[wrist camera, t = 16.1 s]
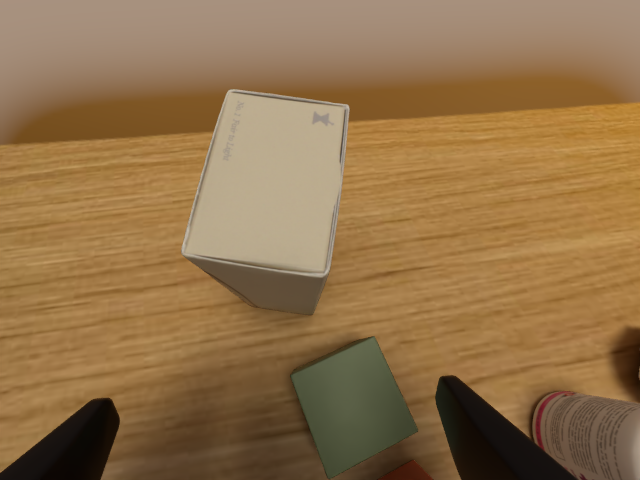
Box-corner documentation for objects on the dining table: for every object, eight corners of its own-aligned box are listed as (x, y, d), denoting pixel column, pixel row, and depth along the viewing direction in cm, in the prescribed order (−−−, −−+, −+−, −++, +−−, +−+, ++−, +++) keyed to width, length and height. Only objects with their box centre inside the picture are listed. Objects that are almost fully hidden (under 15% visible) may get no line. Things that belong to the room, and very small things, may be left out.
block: (393, 412, 18) (419, 431, 14) (323, 449, 17) (328, 480, 13) (359, 339, 19) (374, 335, 15) (293, 369, 19) (289, 375, 14)
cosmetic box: (267, 221, 22) (224, 80, 11) (328, 230, 22) (353, 98, 10) (248, 310, 20) (169, 254, 8) (316, 320, 20) (330, 278, 8)
